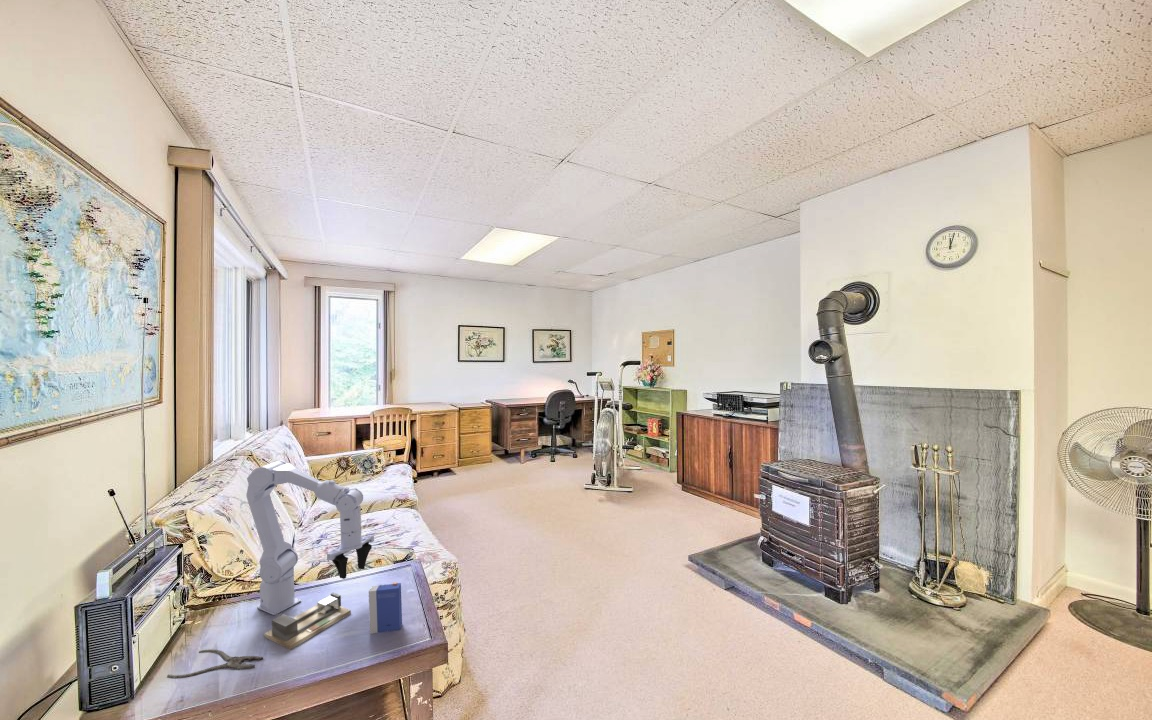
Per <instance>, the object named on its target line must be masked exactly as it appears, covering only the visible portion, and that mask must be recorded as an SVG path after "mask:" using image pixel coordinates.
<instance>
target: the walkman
mask: <svg viewBox="0 0 1152 720" xmlns="http://www.w3.org/2000/svg"><path fill="white" fill-rule="evenodd" d="M402 605H403V603H402V583H401V582H399V583H398V582H392V583H391V584H380V585H373V586H371V588H369V590H368V612H369V613H368V615H369V634H378V633H385V632H393V631H400V630H401V627H402V626H403V613H402V612H403V611H402V610H403V608H402Z"/></svg>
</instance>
